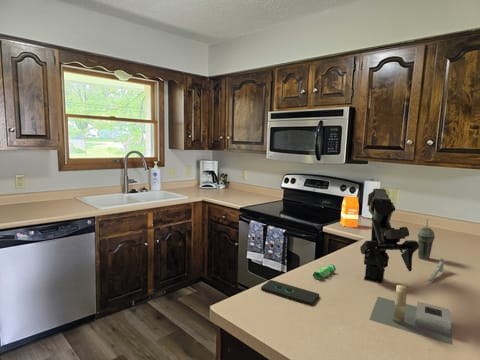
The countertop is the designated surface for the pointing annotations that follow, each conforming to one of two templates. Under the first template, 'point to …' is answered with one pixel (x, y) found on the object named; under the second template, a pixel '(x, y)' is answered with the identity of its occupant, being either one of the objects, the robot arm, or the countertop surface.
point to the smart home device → (290, 292)
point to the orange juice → (350, 211)
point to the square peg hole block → (433, 318)
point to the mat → (385, 315)
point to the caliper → (437, 270)
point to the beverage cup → (425, 242)
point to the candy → (324, 271)
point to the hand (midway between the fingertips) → (397, 271)
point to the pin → (400, 304)
